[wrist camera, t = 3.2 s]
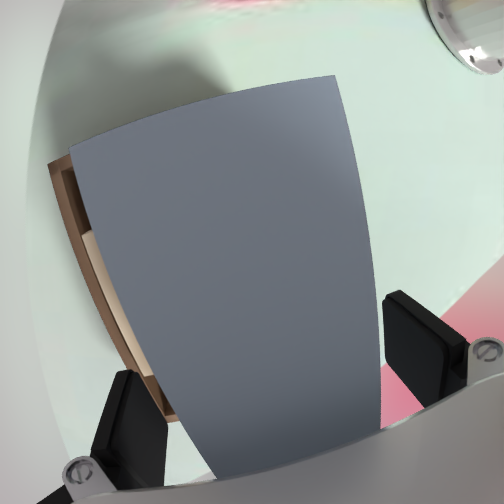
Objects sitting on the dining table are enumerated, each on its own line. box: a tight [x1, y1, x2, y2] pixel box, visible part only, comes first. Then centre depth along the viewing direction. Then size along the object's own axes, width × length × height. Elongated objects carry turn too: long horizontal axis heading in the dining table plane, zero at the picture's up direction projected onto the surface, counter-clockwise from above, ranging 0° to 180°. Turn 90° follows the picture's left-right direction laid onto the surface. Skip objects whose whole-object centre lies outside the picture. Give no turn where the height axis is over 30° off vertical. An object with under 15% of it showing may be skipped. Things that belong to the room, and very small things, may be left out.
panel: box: [69, 75, 381, 479], centre depth 16 cm, size 4×16×20 cm, turn 14°
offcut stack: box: [82, 229, 154, 377], centre depth 22 cm, size 4×14×8 cm, turn 15°
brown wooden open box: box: [47, 154, 180, 423], centre depth 22 cm, size 13×21×6 cm, turn 14°
